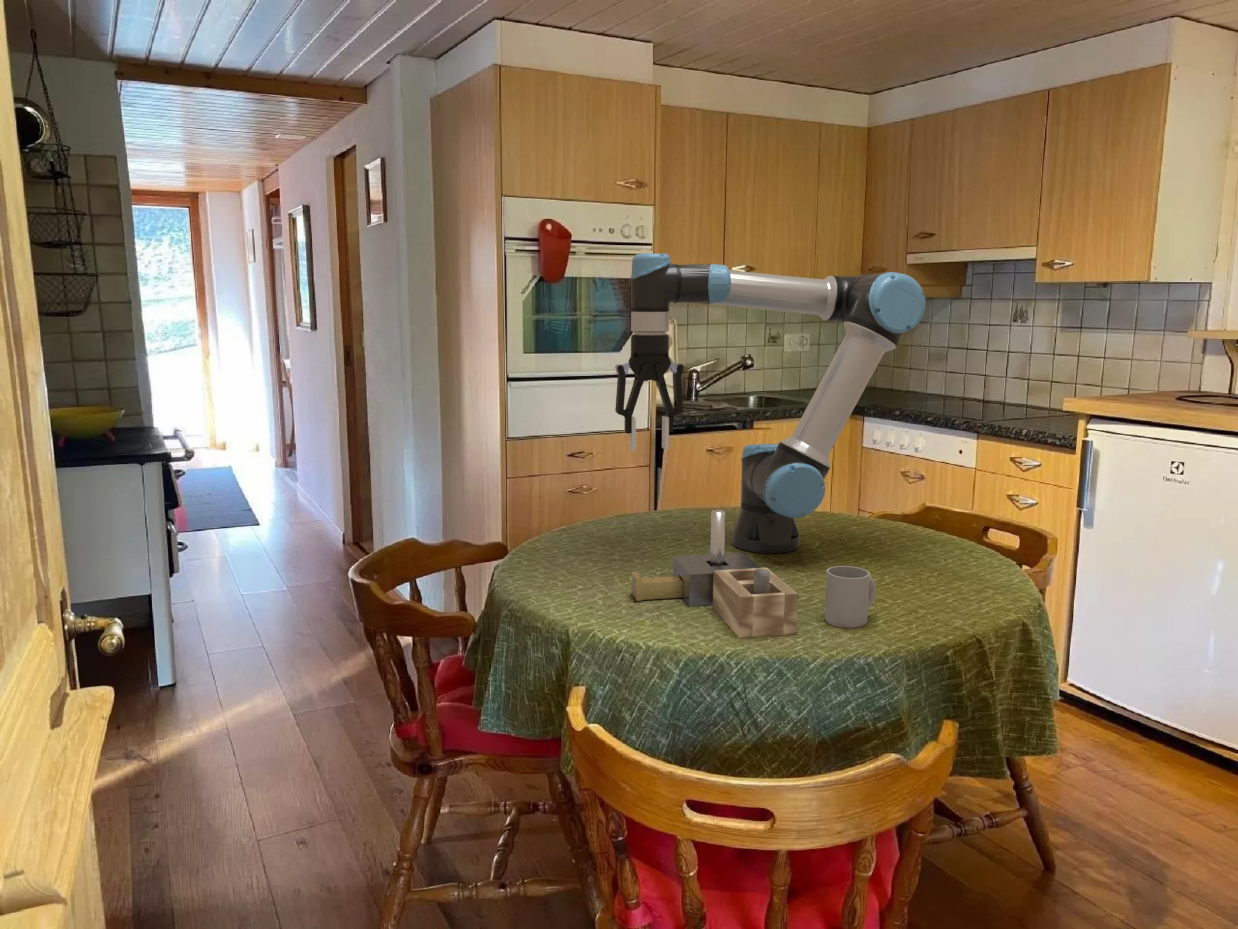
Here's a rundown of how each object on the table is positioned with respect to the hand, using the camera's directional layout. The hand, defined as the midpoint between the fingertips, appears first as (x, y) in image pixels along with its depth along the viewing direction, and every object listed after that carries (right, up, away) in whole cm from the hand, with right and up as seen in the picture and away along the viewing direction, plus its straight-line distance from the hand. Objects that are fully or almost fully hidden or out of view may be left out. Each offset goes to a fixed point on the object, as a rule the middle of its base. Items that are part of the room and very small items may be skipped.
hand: (648, 448), depth 187 cm
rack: (+17, -30, -26) cm, 44 cm away
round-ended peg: (+12, -28, -12) cm, 33 cm away
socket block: (+12, -28, -12) cm, 33 cm away
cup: (+35, -30, -26) cm, 53 cm away
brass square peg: (+2, -28, -14) cm, 31 cm away
